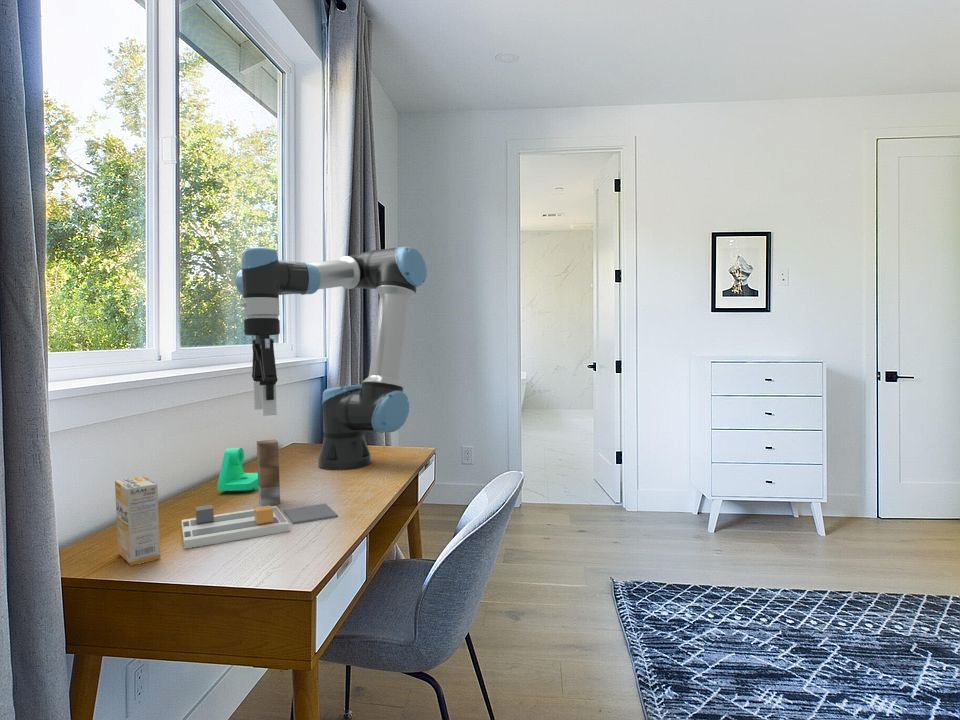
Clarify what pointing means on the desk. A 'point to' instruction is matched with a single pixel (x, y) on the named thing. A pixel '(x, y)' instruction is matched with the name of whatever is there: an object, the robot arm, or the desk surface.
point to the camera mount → (235, 472)
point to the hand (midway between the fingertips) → (265, 412)
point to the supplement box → (137, 520)
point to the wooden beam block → (268, 472)
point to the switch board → (230, 528)
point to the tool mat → (310, 513)
